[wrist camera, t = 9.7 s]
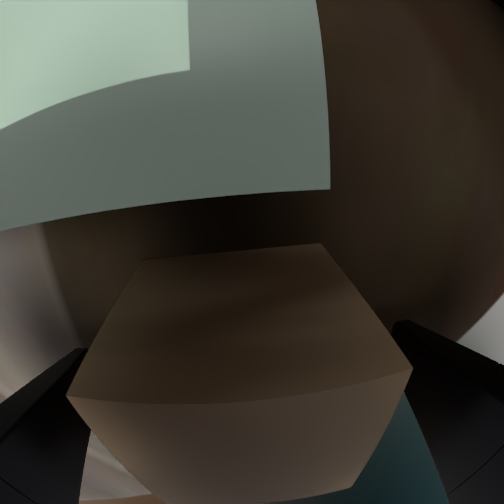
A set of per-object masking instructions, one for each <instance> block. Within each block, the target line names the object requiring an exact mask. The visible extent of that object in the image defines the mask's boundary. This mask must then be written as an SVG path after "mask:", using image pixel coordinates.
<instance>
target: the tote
mask: <svg viewBox="0 0 504 504" xmlns="http://www.w3.org/2000/svg"><path fill="white" fill-rule="evenodd" d="M324 189H330V147H329V123H328V106H327V92H326V80H325V69H324V59H323V50H322V41H321V33H320V26H319V19H318V12H317V6H316V0H0V231H4V230H9V229H13V228H18V227H22V226H27V225H31V224H36V223H41V222H46V221H51V220H56V219H62V218H67V217H72V216H78V215H84V214H90V213H96V212H102V211H108V210H115V209H121V208H128V207H135V206H142V205H149V204H157V203H165V202H173V201H182V200H191V199H200V198H210V197H220V196H231V195H243V194H255V193H269V192H284V191H302V190H324Z"/></svg>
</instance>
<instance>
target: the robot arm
mask: <svg viewBox="0 0 504 504" xmlns="http://www.w3.org/2000/svg"><path fill="white" fill-rule="evenodd" d="M495 1H497V2H498V3H500V4H501V5H502V6H504V0H495ZM391 336H392V338H393V339H394V341H395V342H396V344H397V345H398V346H399V348H400V349H401V351H402V352H403V354H404V355H405V357H406V358H407V360H408V361H409V363H410V364H411V365H412V367H413V370H412V372H411V375H410V377H409V380H408V382H407V385H406V387H405V389H404V392H405V395H406V397H407V399H408V401H409V404H410V406H411V408H412V410H413V413H414V415H415V417H416V419H417V422H418V424H419V426H420V429H421V431H422V433H423V436H424V438H425V440H426V443H427V445H428V448H429V450H430V453H431V455H432V458H433V460H434V463H435V466H436V468H437V471H438V474H439V476H440V479H441V482H442V485H443V487H444V491H445V494H446V495H447V500H448V503H449V504H504V365H502V364H499V363H498V362H496V361H494V360H491V359H490V358H488V357H485V356H483V355H481V354H479V353H477V352H475V351H473V350H471V349H469V348H467V347H464V346H462V345H460V344H458V343H456V342H454V341H452V340H450V339H448V338H446V337H443V336H441V335H439V334H437V333H435V332H433V331H431V330H429V329H427V328H424V327H422V326H420V325H418V324H416V323H414V322H412V321H410V320H401V321H397V322H395V324H394V326H393V329H392V333H391ZM88 350H89V349H87V348H76V349H75V350H73V351H72V352H70V353H69V354H68V355H66V356H65V357H63V358H62V359H61V360H59V361H58V362H56V363H55V364H54V365H52V366H51V367H50V368H48V369H47V370H45V371H44V372H43V373H41V374H40V375H39V376H37V377H36V378H34V379H33V380H32V381H30V382H29V383H28V384H26V385H25V386H23V387H22V388H21V389H19V390H18V391H17V392H15V393H14V394H13V395H11V396H10V397H9V398H7V399H6V400H5V401H3V402H2V403H1V404H0V504H79V496H80V489H81V482H82V475H83V469H84V463H85V458H86V452H87V447H88V442H89V437H90V433H91V429H90V428H89V426H88V425H87V424H86V423H85V421H84V420H83V419H82V417H81V416H80V415H79V413H78V412H77V411H76V409H75V408H74V407H73V405H72V404H71V402H70V401H69V400H68V398H67V397H66V394H67V392H68V390H69V387H70V385H71V383H72V381H73V379H74V377H75V375H76V373H77V371H78V369H79V367H80V365H81V363H82V361H83V360H84V358H85V356H86V354H87V352H88Z"/></svg>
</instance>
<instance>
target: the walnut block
mask: <svg viewBox="0 0 504 504" xmlns="http://www.w3.org/2000/svg"><path fill="white" fill-rule="evenodd" d="M412 370H413V367H412V365H411V364H410V363H409V361H408V360H407V358H406V357H405V355H404V354H403V352H402V351H401V349H400V348H399V346H398V345H397V344H396V342H395V341H394V339H393V338H392V336H391V335H390V334H389V332H388V331H387V329H386V328H385V327H384V325H383V324H382V322H381V321H380V320H379V318H378V317H377V316H376V314H375V313H374V311H373V310H372V309H371V307H370V306H369V305H368V303H367V302H366V301H365V299H364V298H363V297H362V295H361V294H360V293H359V291H358V290H357V289H356V287H355V286H354V285H353V283H352V282H351V281H350V280H349V278H348V277H347V276H346V274H345V273H344V272H343V271H342V269H341V268H340V267H339V265H338V264H337V263H336V262H335V260H334V259H333V258H332V257H331V255H330V254H329V253H328V252H327V250H326V249H325V248H324V247H323V245H322V244H321V243H316V244H305V245H294V246H283V247H273V248H262V249H251V250H241V251H230V252H220V253H209V254H199V255H188V256H178V257H167V258H157V259H147V260H142V261H141V262H140V264H139V265H138V267H137V268H136V270H135V272H134V273H133V275H132V276H131V278H130V279H129V281H128V283H127V284H126V286H125V287H124V289H123V291H122V292H121V294H120V296H119V297H118V299H117V301H116V302H115V304H114V306H113V307H112V309H111V311H110V312H109V314H108V316H107V318H106V319H105V321H104V323H103V325H102V326H101V328H100V330H99V332H98V333H97V335H96V337H95V339H94V341H93V343H92V344H91V346H90V348H89V350H88V352H87V354H86V356H85V358H84V360H83V361H82V363H81V365H80V367H79V369H78V371H77V373H76V375H75V377H74V379H73V381H72V383H71V385H70V387H69V390H68V392H67V394H66V397H67V398H68V400H69V401H70V402H71V404H72V405H73V407H74V408H75V409H76V411H77V412H78V413H79V415H80V416H81V417H82V419H83V420H84V421H85V423H86V424H87V425H88V426H89V428H90V429H91V430H92V431H93V433H94V434H95V435H96V436H97V437H98V439H99V440H100V441H101V442H102V443H103V444H104V445H105V447H106V448H107V449H108V450H109V451H110V452H111V453H112V454H113V455H114V457H115V458H116V459H117V460H118V461H119V462H120V463H121V464H122V465H123V466H124V467H125V468H126V469H127V470H128V471H129V472H130V473H131V474H132V475H133V476H134V477H135V478H136V479H137V480H138V481H139V482H140V483H141V484H143V485H144V486H145V487H146V488H147V489H148V490H149V491H150V492H151V493H153V494H154V495H155V496H156V497H157V498H158V499H160V500H161V501H162V502H163V503H169V504H170V503H171V504H262V503H271V502H279V501H287V500H293V499H299V498H306V497H311V496H316V495H321V494H326V493H330V492H334V491H338V490H342V489H346V488H350V487H351V486H352V485H353V483H354V482H355V480H356V479H357V477H358V476H359V474H360V473H361V471H362V469H363V468H364V466H365V465H366V463H367V461H368V460H369V458H370V456H371V455H372V453H373V451H374V449H375V448H376V446H377V444H378V442H379V441H380V439H381V437H382V435H383V433H384V431H385V429H386V427H387V426H388V424H389V421H390V420H391V417H392V416H393V413H394V411H395V409H396V407H397V405H398V403H399V400H400V398H401V396H402V394H403V392H404V389H405V387H406V385H407V382H408V380H409V377H410V375H411V372H412Z"/></svg>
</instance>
